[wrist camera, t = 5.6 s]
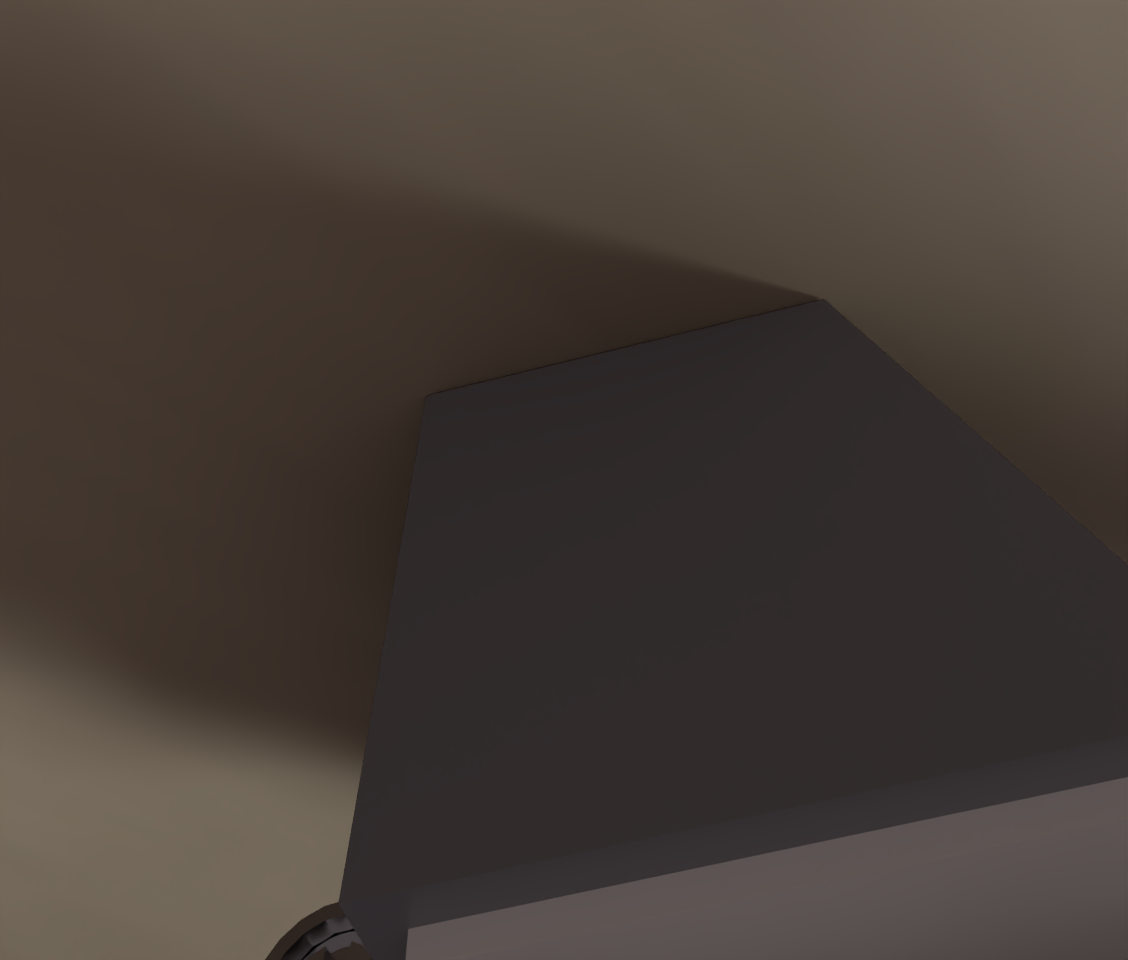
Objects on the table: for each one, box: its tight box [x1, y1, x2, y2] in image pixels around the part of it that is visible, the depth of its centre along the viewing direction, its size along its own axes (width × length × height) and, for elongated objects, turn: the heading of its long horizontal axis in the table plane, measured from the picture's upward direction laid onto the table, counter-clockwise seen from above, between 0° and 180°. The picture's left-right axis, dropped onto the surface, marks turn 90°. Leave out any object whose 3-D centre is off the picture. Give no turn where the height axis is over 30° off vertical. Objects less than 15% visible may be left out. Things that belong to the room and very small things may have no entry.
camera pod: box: [339, 299, 1128, 960], centre depth 8 cm, size 4×8×6 cm, turn 13°
